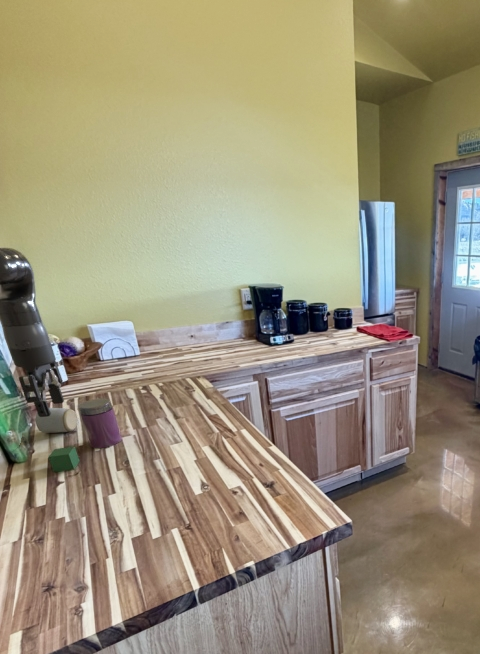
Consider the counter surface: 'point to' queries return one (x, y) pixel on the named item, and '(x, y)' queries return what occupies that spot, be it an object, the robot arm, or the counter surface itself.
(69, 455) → the block
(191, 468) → the counter surface
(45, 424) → the grey canister
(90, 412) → the jar lid
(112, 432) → the jar
